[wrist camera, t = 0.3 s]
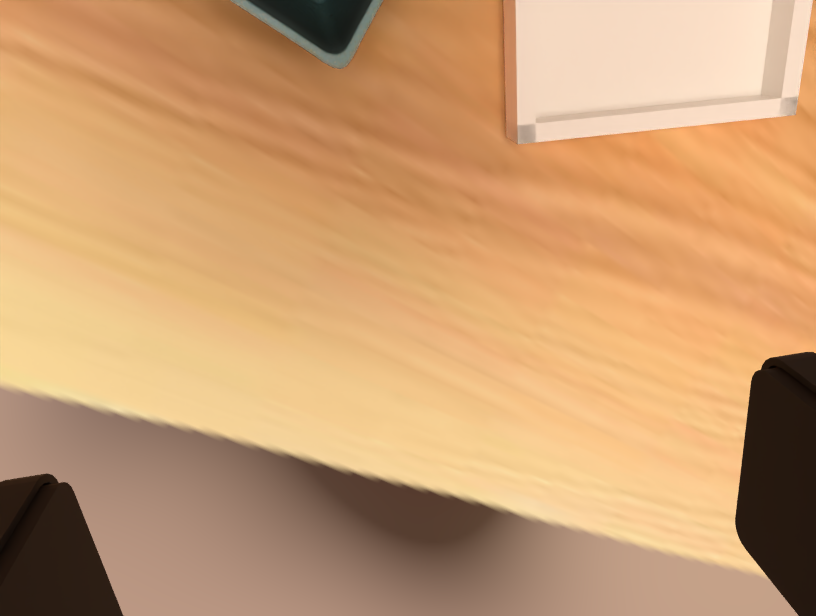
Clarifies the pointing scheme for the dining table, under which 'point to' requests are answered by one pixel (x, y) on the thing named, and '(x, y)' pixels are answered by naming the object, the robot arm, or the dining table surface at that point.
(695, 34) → the tray
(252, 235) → the dining table surface
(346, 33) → the flower pot
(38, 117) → the dining table surface
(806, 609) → the robot arm
